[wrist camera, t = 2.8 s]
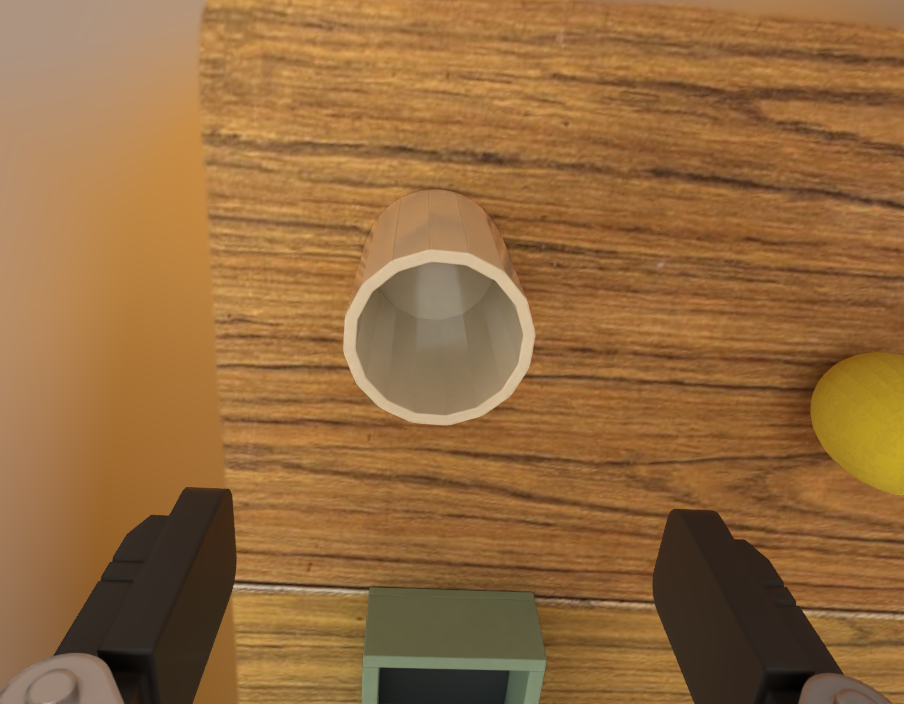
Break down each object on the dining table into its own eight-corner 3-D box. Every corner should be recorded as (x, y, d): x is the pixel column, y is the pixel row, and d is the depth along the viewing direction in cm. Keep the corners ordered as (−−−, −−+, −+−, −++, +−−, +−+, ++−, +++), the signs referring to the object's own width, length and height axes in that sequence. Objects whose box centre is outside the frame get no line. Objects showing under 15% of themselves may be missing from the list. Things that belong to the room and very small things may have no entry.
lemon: (842, 442, 35) (954, 551, 27) (756, 400, 33) (850, 502, 26) (919, 354, 33) (1062, 445, 25) (831, 306, 31) (954, 387, 24)
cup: (341, 285, 30) (312, 378, 22) (405, 162, 28) (398, 214, 20) (460, 343, 31) (474, 451, 23) (529, 231, 29) (570, 306, 21)
